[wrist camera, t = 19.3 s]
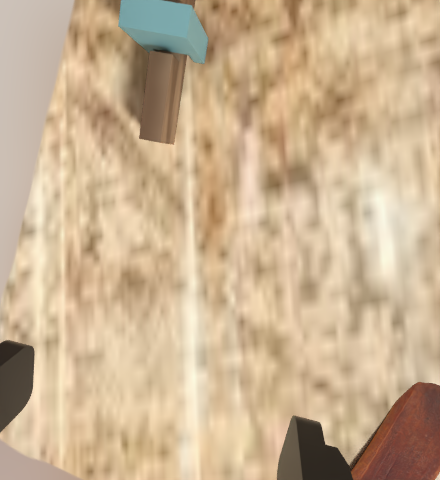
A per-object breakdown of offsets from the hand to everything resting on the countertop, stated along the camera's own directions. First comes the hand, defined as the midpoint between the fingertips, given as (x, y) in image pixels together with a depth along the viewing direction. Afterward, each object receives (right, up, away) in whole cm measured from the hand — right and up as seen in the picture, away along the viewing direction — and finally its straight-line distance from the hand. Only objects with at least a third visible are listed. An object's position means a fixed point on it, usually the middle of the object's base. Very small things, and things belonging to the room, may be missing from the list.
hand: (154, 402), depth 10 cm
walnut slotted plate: (-2, +25, +25) cm, 36 cm away
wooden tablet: (+26, -25, +35) cm, 50 cm away
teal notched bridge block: (-2, +25, +25) cm, 36 cm away
